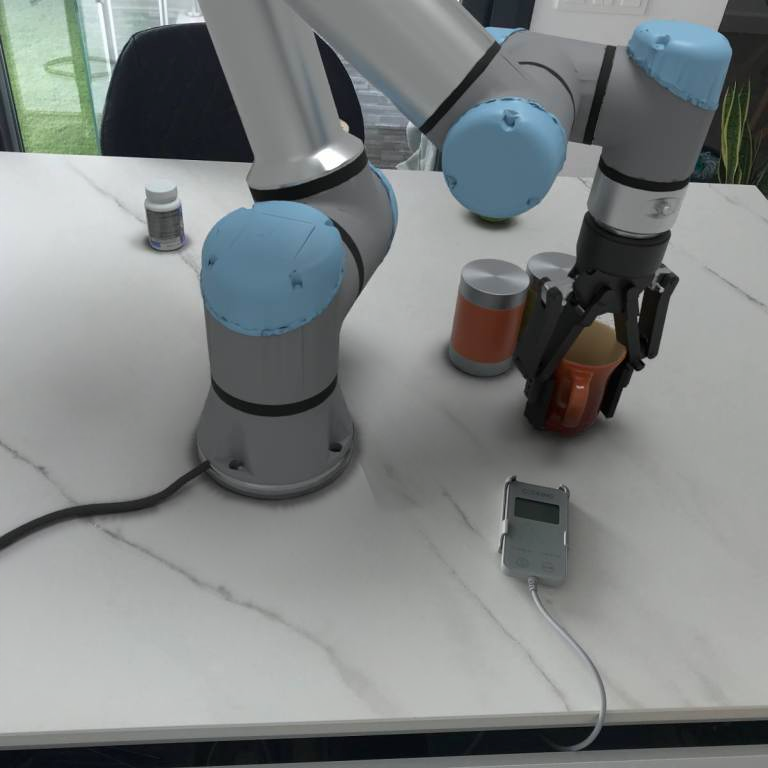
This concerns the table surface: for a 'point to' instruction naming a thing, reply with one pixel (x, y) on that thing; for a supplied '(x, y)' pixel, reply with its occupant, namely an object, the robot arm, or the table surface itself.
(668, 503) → the table surface
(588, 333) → the mug
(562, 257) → the tins
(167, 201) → the pill bottle
